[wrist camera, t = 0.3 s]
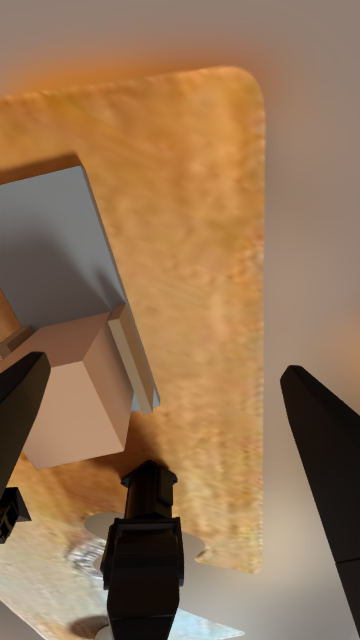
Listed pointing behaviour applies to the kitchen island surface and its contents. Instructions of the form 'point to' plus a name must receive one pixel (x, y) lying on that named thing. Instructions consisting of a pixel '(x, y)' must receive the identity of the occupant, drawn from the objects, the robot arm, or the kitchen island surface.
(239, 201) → the kitchen island surface
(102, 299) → the chute
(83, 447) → the block
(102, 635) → the white marble bowl
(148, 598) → the robot arm
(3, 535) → the black rectangular piece
